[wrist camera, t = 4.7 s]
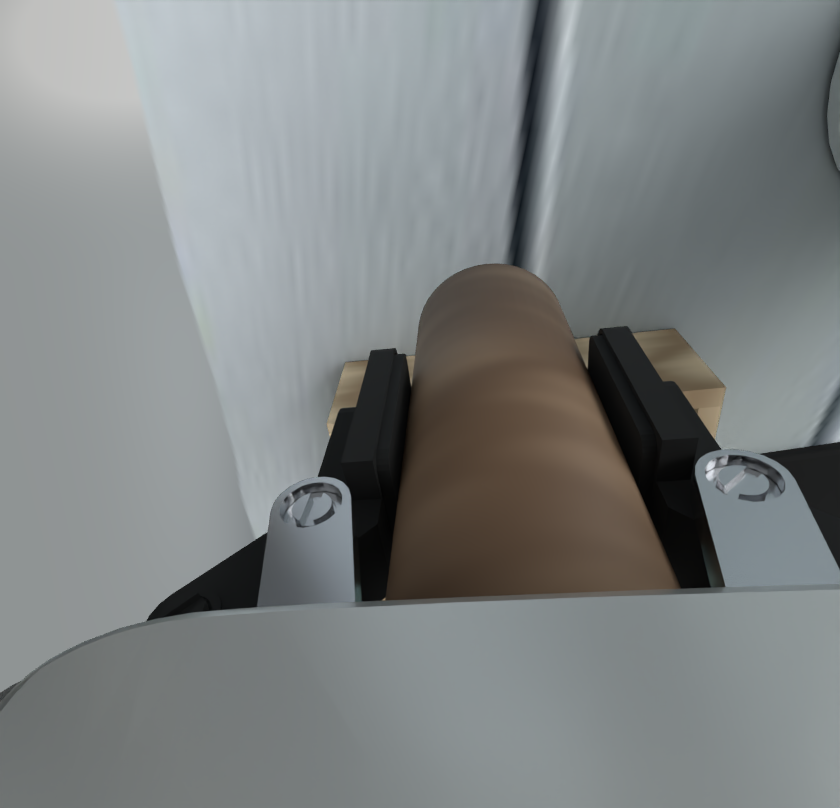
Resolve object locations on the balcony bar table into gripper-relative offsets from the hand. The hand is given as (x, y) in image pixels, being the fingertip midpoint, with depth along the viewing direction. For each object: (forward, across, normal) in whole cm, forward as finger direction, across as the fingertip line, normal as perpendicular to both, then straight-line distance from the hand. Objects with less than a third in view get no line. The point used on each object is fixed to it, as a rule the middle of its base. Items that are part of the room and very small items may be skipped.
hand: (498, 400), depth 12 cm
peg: (+3, 0, 0) cm, 3 cm away
